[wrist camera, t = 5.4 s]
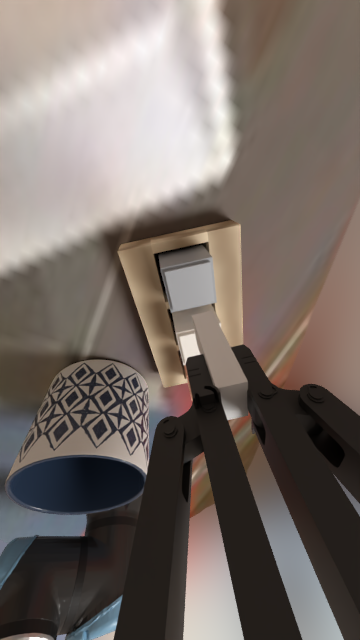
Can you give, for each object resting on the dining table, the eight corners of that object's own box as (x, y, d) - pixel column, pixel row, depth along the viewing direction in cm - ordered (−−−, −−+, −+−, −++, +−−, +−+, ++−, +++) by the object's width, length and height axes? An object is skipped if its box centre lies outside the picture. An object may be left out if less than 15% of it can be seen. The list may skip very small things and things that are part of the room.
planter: (165, 375, 38) (173, 467, 26) (124, 425, 44) (116, 518, 32) (70, 342, 32) (24, 443, 20) (40, 406, 38) (-10, 511, 26)
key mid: (178, 341, 30) (183, 367, 26) (171, 311, 27) (176, 335, 23) (214, 333, 30) (224, 358, 26) (210, 302, 27) (221, 325, 23)
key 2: (167, 293, 27) (171, 314, 23) (158, 254, 24) (160, 270, 20) (207, 285, 27) (217, 304, 23) (202, 244, 24) (213, 258, 20)
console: (163, 373, 37) (164, 387, 35) (120, 244, 25) (117, 251, 22) (237, 357, 37) (243, 370, 35) (231, 219, 25) (240, 224, 23)
